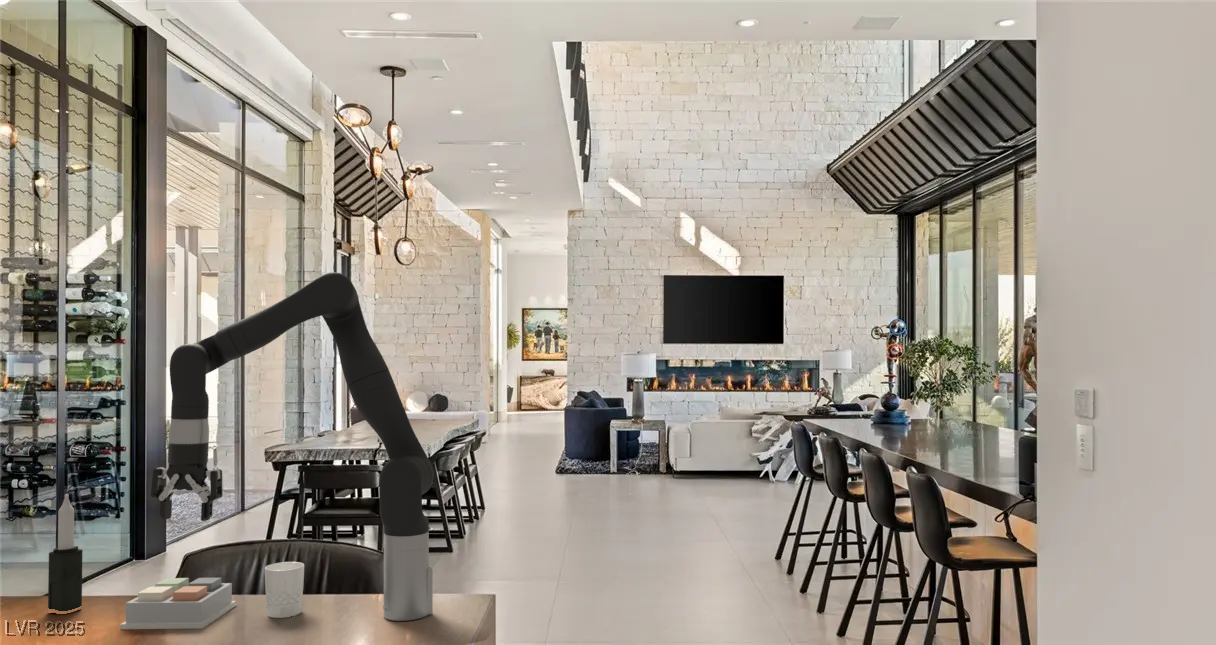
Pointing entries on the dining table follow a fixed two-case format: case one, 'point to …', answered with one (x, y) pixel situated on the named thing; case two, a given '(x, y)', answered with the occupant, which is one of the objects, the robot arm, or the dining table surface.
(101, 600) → the dining table surface
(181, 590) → the key terracotta
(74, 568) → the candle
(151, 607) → the keypad
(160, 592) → the key cream
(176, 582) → the key sage
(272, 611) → the white cup
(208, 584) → the key slate
